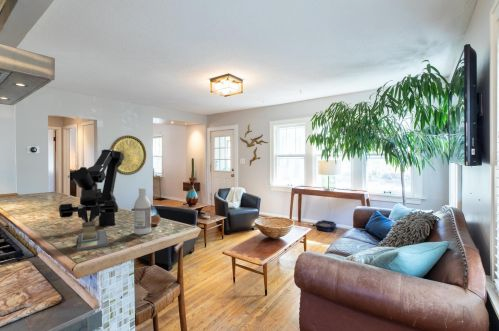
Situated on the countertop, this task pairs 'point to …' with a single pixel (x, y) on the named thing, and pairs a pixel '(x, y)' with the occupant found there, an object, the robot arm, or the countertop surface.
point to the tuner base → (93, 241)
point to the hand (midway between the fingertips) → (88, 227)
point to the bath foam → (142, 213)
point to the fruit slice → (155, 220)
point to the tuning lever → (88, 230)
